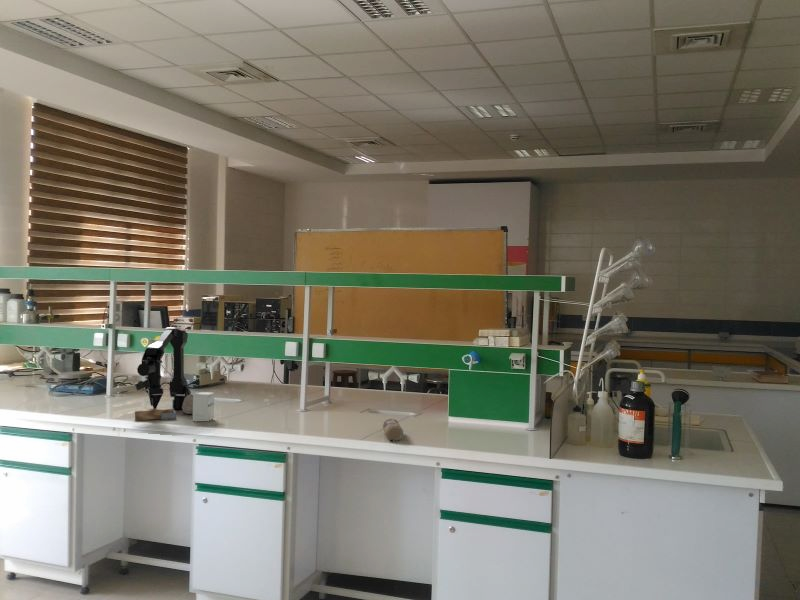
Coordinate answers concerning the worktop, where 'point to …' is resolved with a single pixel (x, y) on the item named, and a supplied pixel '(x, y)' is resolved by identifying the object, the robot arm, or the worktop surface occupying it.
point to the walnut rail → (151, 413)
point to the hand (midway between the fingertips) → (153, 407)
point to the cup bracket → (168, 415)
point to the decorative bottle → (392, 429)
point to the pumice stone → (188, 404)
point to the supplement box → (203, 406)
